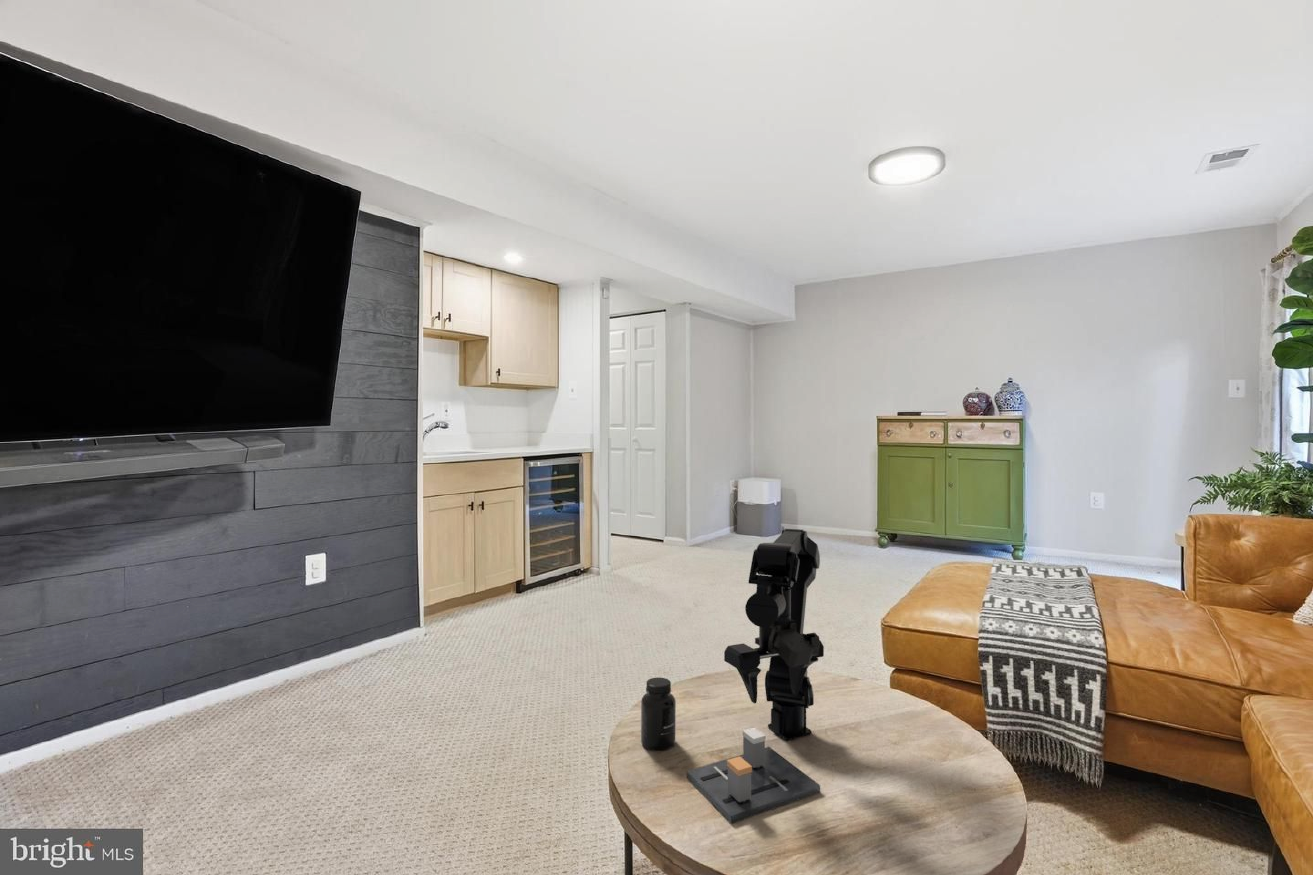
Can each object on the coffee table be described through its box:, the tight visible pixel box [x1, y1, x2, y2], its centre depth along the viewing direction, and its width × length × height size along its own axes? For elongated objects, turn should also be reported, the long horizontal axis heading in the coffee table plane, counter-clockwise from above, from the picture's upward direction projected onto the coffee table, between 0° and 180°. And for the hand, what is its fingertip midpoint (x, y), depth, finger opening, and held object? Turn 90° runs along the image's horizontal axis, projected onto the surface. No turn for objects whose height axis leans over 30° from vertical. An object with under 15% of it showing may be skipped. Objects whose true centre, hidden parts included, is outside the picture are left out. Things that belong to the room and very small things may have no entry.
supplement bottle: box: [640, 677, 677, 751], centre depth 117 cm, size 7×7×12 cm
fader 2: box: [741, 727, 766, 768], centre depth 107 cm, size 3×3×5 cm
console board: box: [686, 746, 821, 825], centre depth 102 cm, size 18×14×1 cm
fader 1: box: [727, 755, 752, 802], centre depth 97 cm, size 3×3×5 cm
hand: (774, 698), depth 109 cm, fingers open, 9 cm apart
